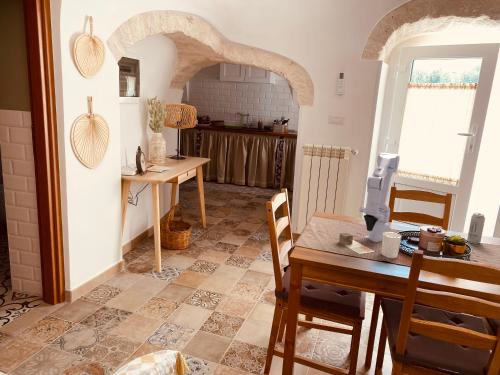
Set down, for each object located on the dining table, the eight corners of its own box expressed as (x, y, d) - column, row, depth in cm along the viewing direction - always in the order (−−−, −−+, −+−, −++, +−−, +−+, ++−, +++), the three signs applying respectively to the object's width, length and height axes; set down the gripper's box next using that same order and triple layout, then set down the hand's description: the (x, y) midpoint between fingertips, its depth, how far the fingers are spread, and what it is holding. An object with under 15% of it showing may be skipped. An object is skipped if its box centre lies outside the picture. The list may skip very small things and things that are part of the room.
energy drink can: (464, 240, 198) (469, 213, 194) (471, 239, 201) (476, 212, 197) (475, 244, 193) (481, 216, 189) (482, 243, 195) (488, 215, 192)
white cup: (396, 260, 168) (399, 239, 166) (378, 256, 172) (381, 235, 170) (400, 254, 175) (403, 234, 172) (382, 250, 179) (385, 230, 176)
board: (352, 240, 190) (352, 239, 190) (374, 252, 176) (374, 251, 176) (337, 242, 187) (337, 241, 187) (359, 254, 173) (359, 253, 172)
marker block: (346, 241, 188) (347, 232, 187) (352, 244, 184) (353, 235, 183) (338, 242, 186) (339, 233, 185) (344, 245, 182) (345, 236, 181)
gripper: (355, 198, 179) (352, 226, 182) (377, 207, 166) (373, 236, 169) (367, 198, 182) (364, 225, 185) (389, 206, 169) (385, 235, 172)
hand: (369, 230), depth 177 cm, fingers closed
